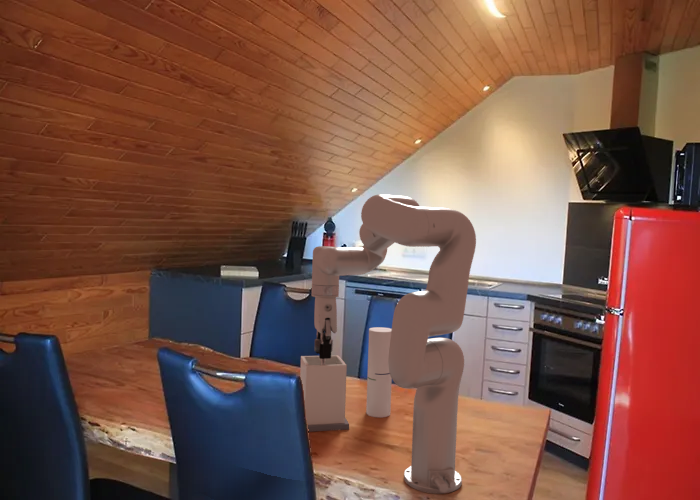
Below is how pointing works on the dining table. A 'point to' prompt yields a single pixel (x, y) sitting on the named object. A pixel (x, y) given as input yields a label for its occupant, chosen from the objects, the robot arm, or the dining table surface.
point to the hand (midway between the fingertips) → (323, 355)
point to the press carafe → (324, 392)
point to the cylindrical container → (378, 373)
